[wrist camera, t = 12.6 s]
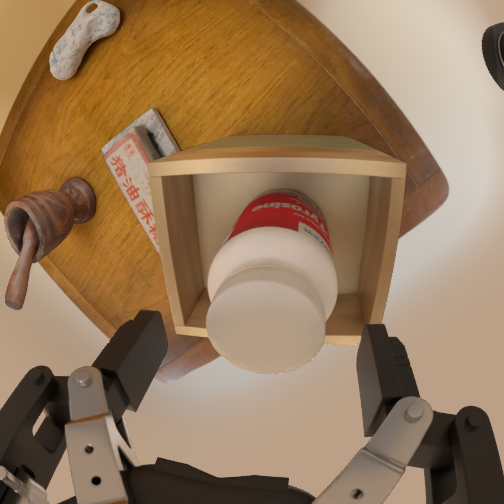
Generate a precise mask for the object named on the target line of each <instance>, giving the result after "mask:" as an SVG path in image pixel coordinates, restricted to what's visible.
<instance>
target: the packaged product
mask: <svg viewBox="0 0 504 504" xmlns="http://www.w3.org/2000/svg"><path fill="white" fill-rule="evenodd" d="M101 150H102V152H103V153H104V156H103V157H104V160H105V162H106V164H107V166H108V168H109V170H110V172H111V173H112V175H113V177H114V179H115V181H116V183H117V184H118V186H119V188H120V189H121V191H122V193H123V195H124V196H125V198H126V200H127V202H128V203H129V205H130V207H131V208H132V210H133V212H134V214H135V215H136V217H137V219H138V220H139V222H140V224H141V225H142V227H143V229H144V230H145V232H146V234H147V235H148V237H149V239H150V240H151V242H152V243H153V245H154V247H155V248H156V250H157V252H158V253H159V254H160V251H159V245H158V239H157V233H156V226H155V220H154V213H153V206H152V198H151V190H150V182H149V174H148V165H147V164H148V163H149V162H152V161H154V160H157V159H160V158H163V157H166V156H168V155H171V154H174V153H177V152H180V151H181V150H180V149H179V147H178V145H177V144H176V142H175V140H174V138H173V137H172V135H171V133H170V132H169V130H168V128H167V127H166V125H165V123H164V122H163V120H162V118H161V116H160V115H159V113H158V111H157V110H156V109H154V108H151V109H150V110H149V111H147V112H146V113H144V114H143V115H142V116H141V117H139V118H138V119H136V120H135V121H134V122H133V123H131V124H130V125H129V126H128V127H126V128H125V129H124V130H123V131H121V132H120V133H119V134H118V135H117V136H115V137H114V138H113V139H112V140H110V141H109V142H108V143H107V144H106V145H105V146H104V147H102V148H101Z"/></svg>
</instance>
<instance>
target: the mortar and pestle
mask: <svg viewBox="0 0 504 504" xmlns="http://www.w3.org/2000/svg"><path fill="white" fill-rule="evenodd" d="M95 203H96V202H95V196H94V193H93V191H92V189H91V188H90V186H89V185H88V184H87V183H86V182H84V181H83V180H81V179H79V178H76V177H74V178H72V179H70V180H68V181H67V182H66V183H65V184H64V185H63V186H62V187H61V189H60V190H59V191H58V190H55V189H48V190H45V191H35V192H33V193H30V194H28V195H26V196H24V197H21V198H19V199H17V200H15V201H13V202H11V203H10V204H9V205H8V206H7V209H6V211H5V219H4V224H5V230H6V233H7V237H8V240H9V242H10V244H11V245H12V248H13V249H14V250H15V252H16V253H17V254H18V255H19V258H18V261H17V264H16V266H15V269H14V271H13V273H12V275H11V278H10V280H9V283H8V286H7V290H6V295H5V303H6V305H7V306H8V307H10V308H13V309H15V310H19V309H21V308H22V306H23V303H24V300H25V296H26V292H27V287H28V279H29V272H30V268H31V265H32V263H36V262H38V261H40V260H41V259H42V258H43V257H44V256H46V255H47V254H48V253H49V252H50V251H52V250H53V249H55V248H56V247H57V246H58V245H59V244H60V243H61V242H62V241H63V240H64V239H65V238H66V236H67V235H68V234H69V232H70V231H71V229H72V227H73V224H82V223H85V222H87V221H89V220H90V219H91V218H92V217H93V215H94V212H95Z"/></svg>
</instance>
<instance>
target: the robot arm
mask: <svg viewBox="0 0 504 504" xmlns="http://www.w3.org/2000/svg"><path fill="white" fill-rule="evenodd" d="M497 53H498V57H499V61H500V63H501V66H502V68H503V70H504V31H502V32H501V33H500V34H499V36H498V39H497ZM167 349H168V340H167V336H166V332H165V328H164V324H163V320H162V316H161V313H160V312H159V311H151V310H140V311H139V313H138V314H137V315H136V317H135V318H134V319H133V320H129V321H128V322H126V323H125V324H123V325H122V326H120V328H119V329H118V330H117V332H116V333H115V334H114V336H113V337H112V338H111V340H110V342H109V343H108V344H107V345H106V346H105V348H104V349H103V350H102V352H101V353H100V355H99V356H98V357H97V359H96V360H95V361H94V363H93V364H92V366H85V367H81V368H78V369H77V370H75V371H74V372H73V373H72V374H71V375H70V376H54V375H53V373H52V371H51V370H50V368H49V367H47V366H37V367H35V368H32V369H31V370H30V371H28V373H27V374H26V375H25V377H24V378H23V379H22V381H21V382H20V383H19V385H18V386H17V387H16V389H15V390H14V392H13V393H12V394H11V396H10V397H9V398H8V400H7V401H6V403H5V404H4V406H3V407H2V409H1V410H0V504H50V503H49V501H48V500H47V494H46V489H47V487H48V485H49V482H50V480H51V478H52V476H53V474H54V472H55V470H56V468H57V466H58V464H59V462H60V460H61V458H62V456H63V454H64V451H65V450H66V448H67V451H68V458H69V464H70V470H71V476H72V481H73V485H74V490H75V495H76V496H74V497H71V498H70V499H67V500H65V501H63V502H60V503H58V504H383V502H384V501H385V500H386V499H387V497H388V496H389V494H390V493H391V492H392V490H393V489H394V487H395V486H396V484H397V483H398V481H399V480H400V478H401V477H402V475H403V474H404V472H405V468H406V466H412V467H419V468H424V476H425V487H426V504H504V475H503V470H502V465H501V461H500V456H499V452H498V449H497V444H496V441H495V437H494V433H493V430H492V427H491V423H490V420H489V417H488V415H487V414H486V413H485V412H484V411H483V410H482V409H480V408H478V407H475V406H467V407H464V408H462V409H461V410H460V411H459V412H458V413H457V415H453V414H446V413H440V412H436V411H433V410H432V408H431V406H430V404H429V403H427V402H426V401H425V400H423V399H422V398H420V395H419V391H418V388H417V385H416V381H415V378H414V374H413V371H412V368H411V366H410V362H409V359H408V358H407V356H408V355H407V352H406V349H405V347H404V345H403V344H402V343H401V342H400V340H399V339H398V338H397V337H388V334H387V330H386V327H385V325H384V324H365V325H364V327H363V332H362V336H361V341H360V345H359V349H358V353H357V363H356V364H357V365H356V366H357V374H358V382H359V390H360V398H361V407H362V416H363V426H364V436H365V437H372V436H373V437H372V438H371V439H370V441H369V442H368V443H367V444H366V446H365V447H364V448H361V449H360V450H359V452H358V453H357V454H356V455H355V457H354V458H353V459H352V460H351V461H350V462H349V463H348V465H347V466H346V467H345V468H344V469H343V471H342V472H341V473H340V474H339V475H338V476H337V477H336V478H335V479H334V481H333V482H332V483H331V484H330V485H329V486H328V487H327V488H326V489H325V490H324V491H323V492H322V493H321V494H320V495H319V496H318V497H317V498H316V497H314V496H312V495H311V494H310V493H308V492H306V491H304V490H302V489H299V488H297V487H293V486H290V485H288V481H289V478H284V477H269V476H259V475H251V476H240V477H226V478H219V477H215V476H213V475H210V474H208V473H206V472H203V471H201V470H199V469H197V468H194V467H192V466H190V465H188V464H184V463H179V462H175V461H171V460H167V459H163V458H159V457H158V458H157V461H156V463H155V464H148V465H141V463H140V462H139V460H138V458H137V456H136V453H135V451H134V448H133V444H132V441H131V438H130V435H129V432H128V428H127V425H126V421H125V418H124V416H123V413H124V412H125V410H126V409H127V410H131V411H134V412H136V411H137V409H138V407H139V405H140V403H141V401H142V399H143V397H144V395H145V393H146V392H147V390H148V388H149V386H150V384H151V382H152V380H153V378H154V376H155V374H156V372H157V370H158V368H159V366H160V365H161V363H162V361H163V359H164V357H165V355H166V353H167ZM42 411H43V412H44V413H45V414H46V417H45V419H44V421H43V422H42V424H41V426H40V427H39V429H38V431H37V432H36V434H35V436H33V433H32V429H33V426H34V424H35V422H36V421H37V419H38V417H39V416H40V414H41V413H42Z"/></svg>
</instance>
